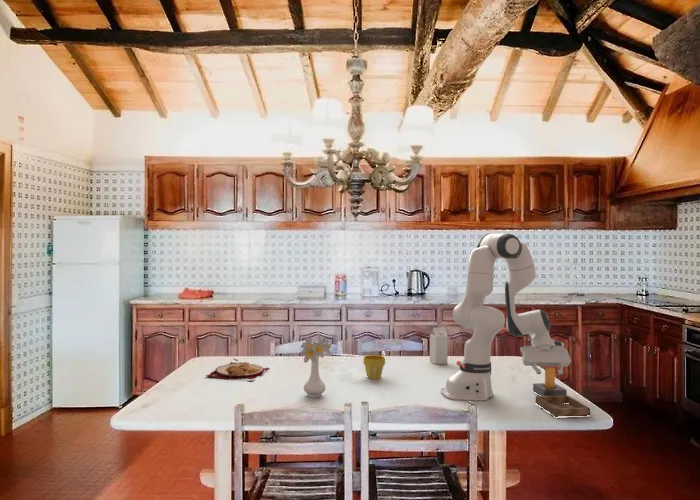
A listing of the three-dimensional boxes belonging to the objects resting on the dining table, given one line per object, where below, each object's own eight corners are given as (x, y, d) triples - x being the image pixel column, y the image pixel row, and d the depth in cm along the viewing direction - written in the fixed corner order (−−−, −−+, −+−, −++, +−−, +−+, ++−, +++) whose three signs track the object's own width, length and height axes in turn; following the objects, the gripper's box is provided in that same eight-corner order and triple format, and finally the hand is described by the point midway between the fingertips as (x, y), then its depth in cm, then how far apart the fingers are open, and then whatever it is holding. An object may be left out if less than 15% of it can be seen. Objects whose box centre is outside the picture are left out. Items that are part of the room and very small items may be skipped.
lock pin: (547, 397, 223) (548, 369, 223) (542, 394, 227) (543, 367, 227) (556, 397, 223) (556, 369, 223) (551, 394, 227) (552, 367, 227)
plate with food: (204, 379, 247) (204, 371, 247) (231, 364, 272) (231, 357, 272) (252, 384, 240) (252, 376, 240) (275, 368, 266) (275, 362, 266)
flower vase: (296, 402, 211) (297, 341, 211) (303, 389, 230) (303, 333, 229) (328, 403, 211) (329, 342, 210) (332, 390, 229) (333, 333, 228)
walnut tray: (555, 418, 197) (555, 409, 197) (535, 404, 213) (535, 396, 213) (590, 417, 199) (590, 408, 198) (567, 403, 214) (567, 395, 214)
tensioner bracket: (544, 399, 220) (544, 390, 219) (533, 392, 229) (533, 383, 229) (566, 399, 221) (566, 389, 221) (554, 391, 231) (554, 383, 231)
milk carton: (429, 361, 284) (430, 326, 283) (441, 360, 286) (441, 326, 286) (435, 364, 277) (436, 329, 277) (447, 363, 279) (448, 328, 279)
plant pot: (383, 374, 256) (384, 354, 256) (385, 380, 246) (386, 359, 246) (362, 374, 256) (363, 354, 256) (364, 380, 245) (364, 359, 245)
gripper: (521, 342, 233) (527, 369, 223) (567, 342, 232) (575, 370, 223) (517, 349, 237) (524, 377, 228) (563, 350, 237) (571, 377, 227)
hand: (549, 373), depth 225 cm, fingers open, 8 cm apart
